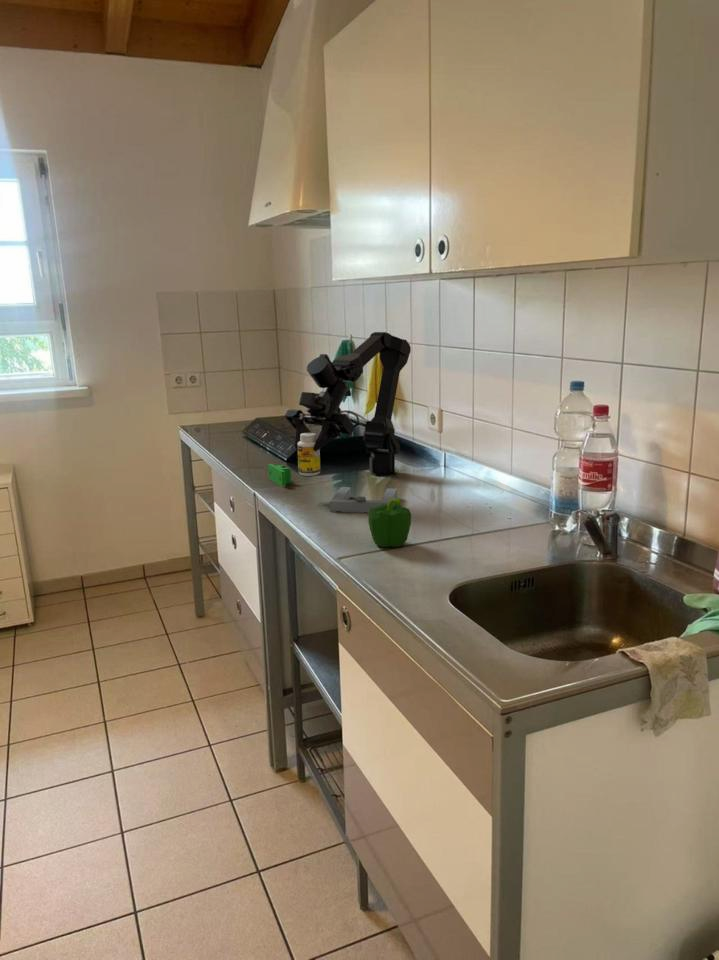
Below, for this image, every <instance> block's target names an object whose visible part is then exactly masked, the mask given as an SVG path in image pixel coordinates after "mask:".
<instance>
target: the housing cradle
mask: <svg viewBox="0 0 719 960" xmlns="http://www.w3.org/2000/svg"><path fill="white" fill-rule="evenodd" d="M351 490H352V489H351V487H350V486H349V487H347V486H343V487H340V488H339V489H338V490H337V491H336V493H335V494H334V495H333V497H332V498H331V499H330V500H329V511H335V512H336V511H342V512H341V513H364V512H370V509H372V508H376V507H377V506H378V505H380V504H385V505H388V503H389V501H390V500H392V499H398V488H396V487H395V488H388V487H387V489H386V490H385V492H384V494H383V496H382V498H381V500H371V499H370V500H369V499H367V497H365V496H357V497H355V499H350V498H351V496H352V494H351V492H352V491H351ZM394 504H396V503H393V505H394ZM335 512H334V513H335ZM336 513H337V512H336Z"/></svg>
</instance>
